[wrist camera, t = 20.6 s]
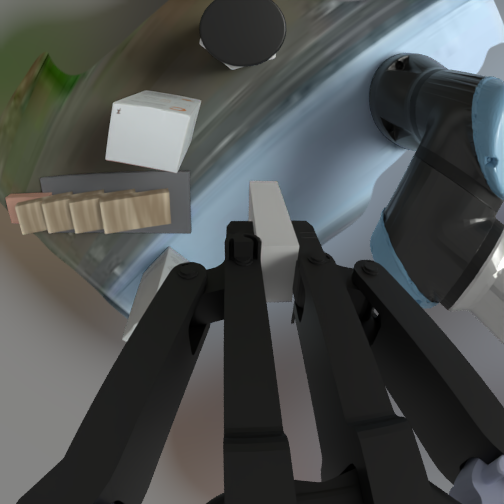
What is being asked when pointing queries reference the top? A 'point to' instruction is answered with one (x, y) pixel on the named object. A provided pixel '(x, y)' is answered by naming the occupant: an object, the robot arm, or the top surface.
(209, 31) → the jar
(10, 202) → the domino
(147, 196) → the domino
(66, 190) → the mat
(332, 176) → the top surface
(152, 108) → the small box
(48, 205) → the domino
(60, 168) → the top surface
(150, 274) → the skincare box
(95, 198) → the domino
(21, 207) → the domino
